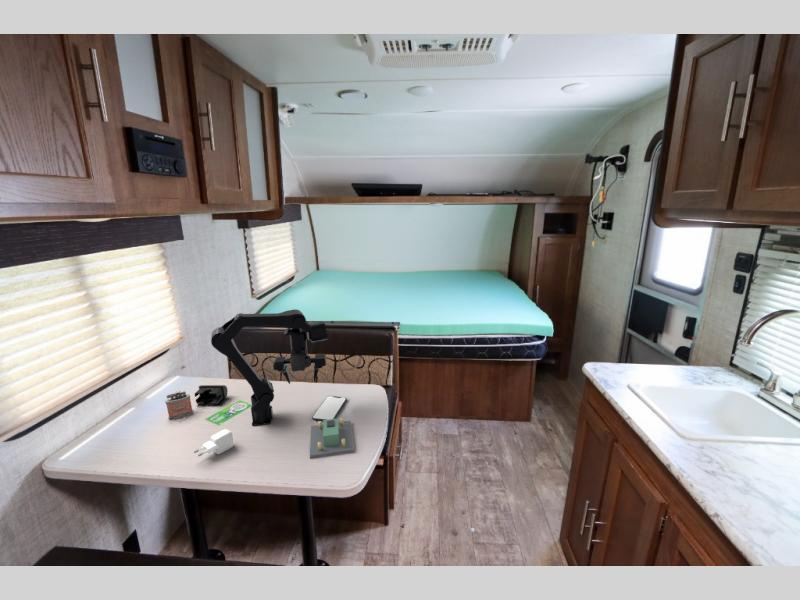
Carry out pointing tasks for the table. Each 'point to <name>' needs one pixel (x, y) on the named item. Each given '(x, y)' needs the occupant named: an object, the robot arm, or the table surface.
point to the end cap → (211, 395)
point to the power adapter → (218, 443)
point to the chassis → (344, 447)
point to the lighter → (178, 405)
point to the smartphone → (329, 408)
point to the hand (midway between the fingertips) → (302, 382)
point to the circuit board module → (330, 432)
